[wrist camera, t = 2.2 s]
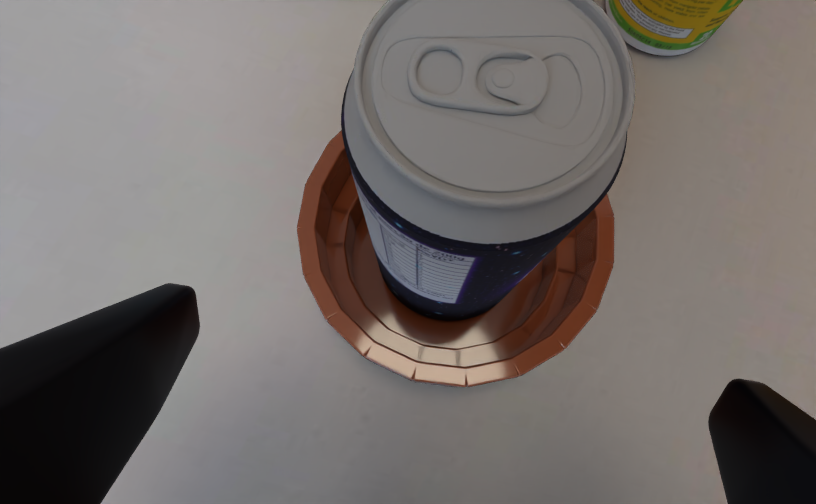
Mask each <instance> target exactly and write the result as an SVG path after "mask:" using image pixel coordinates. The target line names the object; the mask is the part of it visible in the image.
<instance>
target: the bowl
mask: <svg viewBox="0 0 816 504" xmlns="http://www.w3.org/2000/svg"><path fill="white" fill-rule="evenodd" d="M613 216H614V214H613V211H612V208H611V205H610V202H609V199H608V196H607V194H606V195H605V197H604V198H603V199H602V201H601V202H600V203H599V204H598V205H597V206H596V208H595V209H594V210H593V211H592V212H591V213H590V214H588V215H587V216H586V217H585V218H584V219H583V220H582V221H581V222H580V223H579V224H578V225H577V226H576V227H575V228H574V229H573V230H572V231H571V232H570V233H569V234H568V235H567V236H566V237H565V238H564V239H563V240H562V241H561V242H560V243H559V244H558V245H557V246H556V247H555V248H554V249H553V250H552V251H551V252H550V253H549V254H548V255H547V256H546V257H545V258H544V259H543V260H542V261H541V262H540V263H539V264H538V265H537V266H536V267H535V268H534V269H532V270H531V271H530V272H529V273H528V274H527V275H526V276H525V277H524V278H523V279H522V280H521V281H520V282H519V283H518V284H517V285H516V286H515V287H514V288H513V289H512V290H511V291H510V292H509V293H508V294H507V295H506V296H505V297H504V298H503V299H502V300H501V301H500V302H499V303H498V304H496V305H495V306H494V307H493V308H491V309H490V310H488V311H486V312H485V313H483V314H480V315H478V316H476V317H473V318H469V319H465V320H458V321H443V320H436V319H431V318H428V317H425V316H422V315H420V314H418V313H416V312H414V311H412V310H411V309H409V308H408V307H406V306H405V305H404V304H402V303H401V302H400V301H399V300H398V299H397V298H396V297H395V296H394V295H393V293H392V292H391V291H390V290H389V288H388V287H387V285H386V283H385V281H384V279H383V277H382V274H381V272H380V268H379V265H378V261H377V258H376V255H375V251H374V248H373V244H372V241H371V237H370V234H369V230H368V227H367V223H366V220H365V216H364V213H363V210H362V206H361V203H360V199H359V196H358V192H357V189H356V185H355V182H354V178H353V175H352V172H351V168H350V165H349V161H348V158H347V154H346V151H345V147H344V142H343V137H342V130H341V131H340V132H339V133H338V134H337V135H336V136H335V137H334V138H333V139H332V140H331V141H330V142H329V144H328V145H327V146H326V148H325V150H324V151H323V153H322V155H321V157H320V159H319V160H318V162H317V164H316V166H315V167H314V169H313V171H312V173H311V175H310V176H309V178H308V180H307V183H306V184H305V189H304V194H303V199H302V204H301V209H300V214H299V220H298V225H297V228H298V229H297V234H298V241H299V248H300V255H301V263H302V270H303V275H304V278H305V280H306V282H307V284H308V286H309V288H310V290H311V292H312V294H313V296H314V298H315V300H316V302H317V304H318V306H319V308H320V310H321V312H322V314H323V316H324V318H325V319H326V320H327V322H328V323H329V324H330V325H331V326H332V327H333V328H334V329H335V330H336V331H337V332H338V333H339V334H340V335H341V336H342V337H343V338H344V339H345V340H346V341H347V342H348V343H349V344H350V345H351V346H352V347H354V348H355V349H356V350H357V351H358V352H359V353H360V354H361V355H362V356H363V357H365V358H366V359H368V360H369V361H371V362H373V363H374V364H376V365H378V366H380V367H383V368H385V369H387V370H389V371H391V372H393V373H395V374H397V375H399V376H401V377H403V378H405V379H408V380H410V381H413V382H417V383H425V384H433V385H441V386H449V387H472V386H477V385H482V384H486V383H491V382H496V381H501V380H506V379H511V378H516V377H518V376H522V375H523V374H525V373H527V372H528V371H530V370H532V369H533V368H535V367H537V366H539V365H540V364H542V363H544V362H545V361H547V360H549V359H550V358H552V357H554V356H555V355H557V354H559V353H560V352H562V351H563V350H564V349H566V348H567V347H568V345H569V344H570V343H571V342H572V341H573V339H574V338H575V337H576V336H577V335H578V333H579V332H580V331H581V330H582V329H583V327H584V326H585V325H586V324H587V323H588V321H589V320H590V319H591V318H592V317H593V315H594V314H595V313H596V311H597V309H598V307H599V305H600V302H601V299H602V296H603V294H604V291H605V288H606V285H607V282H608V280H609V277H610V274H611V271H612V269H613V263H614V217H613Z"/></svg>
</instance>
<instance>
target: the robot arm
mask: <svg viewBox="0 0 816 504" xmlns="http://www.w3.org/2000/svg"><path fill="white" fill-rule="evenodd" d="M199 329H200V322H199V315H198V307H197V300H196V294H195V291H194V289H193V288H191V287H190V286H185V285H179V284H173V283H168V284H164V285H162V286H159V287H157V288H154V289H152V290H149V291H147V292H144V293H141V294H139V295H136V296H134V297H131V298H129V299H126V300H124V301H121V302H118V303H116V304H113V305H111V306H108V307H106V308H103V309H101V310H98V311H95V312H93V313H90V314H88V315H85V316H83V317H80V318H78V319H75V320H72V321H70V322H67V323H65V324H62V325H60V326H57V327H54V328H52V329H49V330H47V331H44V332H42V333H39V334H37V335H34V336H31V337H29V338H26V339H24V340H21V341H19V342H16V343H14V344H11V345H8V346H6V347H3V348H1V349H0V504H100V503H101V502H102V500H103V499H104V497H105V496H106V494H107V493H108V491H109V490H110V488H111V486H112V485H113V483H114V482H115V480H116V479H117V477H118V476H119V474H120V473H121V471H122V470H123V468H124V466H125V465H126V463H127V462H128V460H129V459H130V457H131V456H132V454H133V453H134V451H135V450H136V448H137V446H138V445H139V443H140V442H141V440H142V439H143V437H144V436H145V434H146V433H147V431H148V430H149V428H150V426H151V425H152V423H153V422H154V420H155V418H156V417H157V415H158V413H159V412H160V410H161V408H162V406H163V404H164V402H165V400H166V398H167V396H168V395H169V393H170V391H171V389H172V387H173V385H174V383H175V381H176V379H177V377H178V375H179V373H180V371H181V369H182V367H183V365H184V363H185V361H186V359H187V357H188V355H189V353H190V351H191V349H192V347H193V345H194V343H195V341H196V339H197V337H198V334H199ZM708 423H709V431H710V435H711V439H712V443H713V447H714V450H715V454H716V458H717V462H718V466H719V470H720V474H721V478H722V482H723V486H724V490H725V494H726V498H727V502H728V504H816V420H815V419H814V418H812V417H811V416H809V415H808V414H807V413H805V412H804V411H802V410H801V409H799V408H798V407H797V406H795V405H794V404H792V403H791V402H789V401H788V400H787V399H785V398H784V397H782V396H781V395H780V394H778V393H777V392H775V391H774V390H772V389H771V388H770V387H768V386H767V385H765V384H763V383H760V382H756V381H750V380H744V379H734V380H732V381H730V382H729V383H728V384H727V386H726V388H725V389H724V391H723V393H722V394H721V396H720V397H719V399H718V401H717V402H716V404H715V406H714V407H713V409H712V410H711V413H710V416H709V421H708Z"/></svg>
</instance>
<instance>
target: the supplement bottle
mask: <svg viewBox="0 0 816 504" xmlns="http://www.w3.org/2000/svg"><path fill="white" fill-rule="evenodd" d="M742 1H743V0H606V12H607V15H608V17H609V18H610V19H611V20H612V22H613V23H614V24H615V26H616V27H617V29H618V31H619V32H620V34H621V36H622V38H623V39H624V41H625V42H627V43H628V44H630V45H631V46H633V47H635V48H637V49H639V50H641V51H644V52H647V53H650V54H655V55H662V56H672V55H680V54H684V53H687V52H690V51H692V50H694V49H696V48H697V47H699V46H700V45H702V44H703V43H704V42H705V41H707V40H708V39H709V38H710V37H711V36H712V34H713V33H714V32H715V31H716V30H717V29H718V28H719V27H720V26H721V25H722V24H723V22H724V21H725V20H726V19H727V18H728V17H729V16H730V14H731V13H732V12H733V11H734V10H735V9H736V8H737V7H738V6H739V5H740V3H741V2H742Z"/></svg>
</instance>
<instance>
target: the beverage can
mask: <svg viewBox="0 0 816 504" xmlns="http://www.w3.org/2000/svg"><path fill="white" fill-rule="evenodd" d="M634 101H635V75H634V70H633V65H632V60H631V57H630V54H629V52H628V49H627V46H626V44H625V41H624V39H623V38H622V36H621V34H620V32H619V31H618V29H617V27H616V26H615V24H614V23H613V22H612V20H611V19H610V18H609V17H608V15H607V14H606V13H605V12H604V11H603V9H602V8H601V7H600V6H598V5H597V4H596V3H595V2H594V1H593V0H388V1H387V2H386V3H385V4H384V5H383V6H382V8H381V9H380V10H379V11H378V12H377V14H376V15H375V16H374V17H373V19H372V21H371V22H370V24H369V26H368V27H367V29H366V31H365V33H364V34H363V37H362V40H361V43H360V45H359V48H358V51H357V55H356V59H355V65H354V69H353V71H352V73H351V76H350V78H349V81H348V83H347V86H346V90H345V93H344V98H343V104H342V113H341V127H342V137H343V142H344V147H345V151H346V154H347V158H348V161H349V165H350V168H351V172H352V175H353V178H354V182H355V185H356V189H357V192H358V196H359V199H360V203H361V206H362V210H363V213H364V216H365V220H366V223H367V227H368V230H369V234H370V237H371V241H372V244H373V248H374V251H375V255H376V258H377V261H378V265H379V268H380V272H381V274H382V277H383V279H384V281H385V283H386V285H387V287H388V288H389V290H390V291H391V292H392V293H393V295H394V296H395V297H396V298H397V299H398V300H399V301H400V302H401V303H402V304H404V305H405V306H406V307H408V308H409V309H411V310H412V311H414V312H416V313H418V314H420V315H422V316H425V317H428V318H431V319H436V320H443V321H458V320H465V319H469V318H473V317H476V316H478V315H480V314H483V313H485V312H486V311H488V310H490V309H491V308H493V307H494V306H495V305H496V304H498V303H499V302H500V301H501V300H502V299H503V298H504V297H505V296H506V295H507V294H508V293H509V292H510V291H511V290H512V289H513V288H514V287H515V286H516V285H517V284H518V283H519V282H520V281H521V280H522V279H523V278H524V277H525V276H526V275H527V274H528V273H529V272H530V271H531V270H532V269H534V268H535V267H536V266H537V265H538V264H539V263H540V262H541V261H542V260H543V259H544V258H545V257H546V256H547V255H548V254H549V253H550V252H551V251H552V250H553V249H554V248H555V247H556V246H557V245H558V244H559V243H560V242H561V241H562V240H563V239H564V238H565V237H566V236H567V235H568V234H569V233H570V232H571V231H572V230H573V229H574V228H575V227H576V226H577V225H578V224H579V223H580V222H581V221H582V220H583V219H584V218H585V217H586V216H587V215H588V214H590V213H591V212H592V211H593V210H594V209H595V208H596V206H597V205H598V204H599V203H600V202H601V201H602V199H603V198H604V197H605V195H606V194H607V192H608V191H609V189H610V188H611V186H612V184H613V183H614V181H615V179H616V177H617V174H618V172H619V169H620V167H621V164H622V161H623V157H624V153H625V148H626V140H627V129H628V126H629V124H630V121H631V117H632V113H633V107H634Z"/></svg>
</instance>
